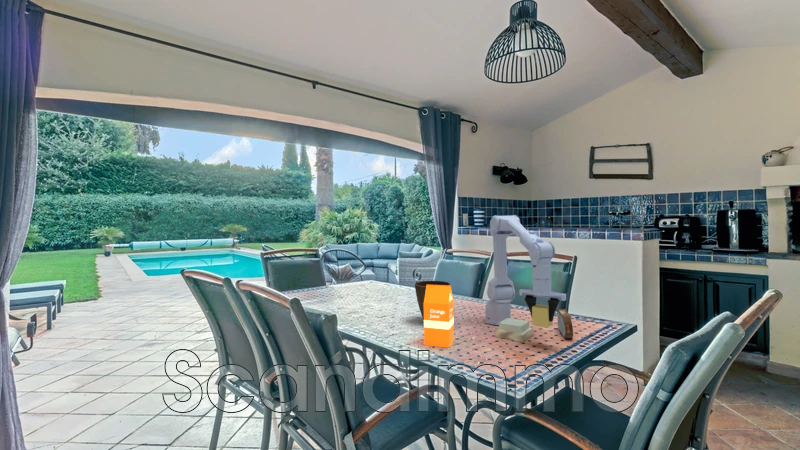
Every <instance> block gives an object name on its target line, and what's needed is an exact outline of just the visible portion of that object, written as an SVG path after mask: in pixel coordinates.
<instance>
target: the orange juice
mask: <svg viewBox="0 0 800 450" xmlns="http://www.w3.org/2000/svg"><path fill="white" fill-rule="evenodd" d="M454 320H455V318H454V297H453V291H452V285H450V286H448V285H426V292H425V298H424V320H423V338H424V339H423V344H424V345H425V346H431V347H439V348H440V347H441V348H450V347H451V346H452V344H453V342H454V341H455V335H454V334H455V331H454V330H455V327H454V324H455V321H454Z"/></svg>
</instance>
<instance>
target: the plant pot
mask: <svg viewBox="0 0 800 450" xmlns="http://www.w3.org/2000/svg"><path fill="white" fill-rule="evenodd" d="M426 285H448V286H451V283H450V282H448V281H443V280H441V281H440V280H422V281H417V282H414V289H415V295H416V300H417V304H418V308H419V312H420V314H421V317H422V319H423V321H424V298H425V292H426Z"/></svg>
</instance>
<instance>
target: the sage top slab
mask: <svg viewBox="0 0 800 450" xmlns="http://www.w3.org/2000/svg"><path fill="white" fill-rule="evenodd" d="M529 327H530V320H522V319H517V318H507V319H505V320H503V321H501V322H499V325H498V328H499V330H504V331H509V332H514V333H520V334H522V333H523V332H524V331H526V330H527V329H529Z"/></svg>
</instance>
